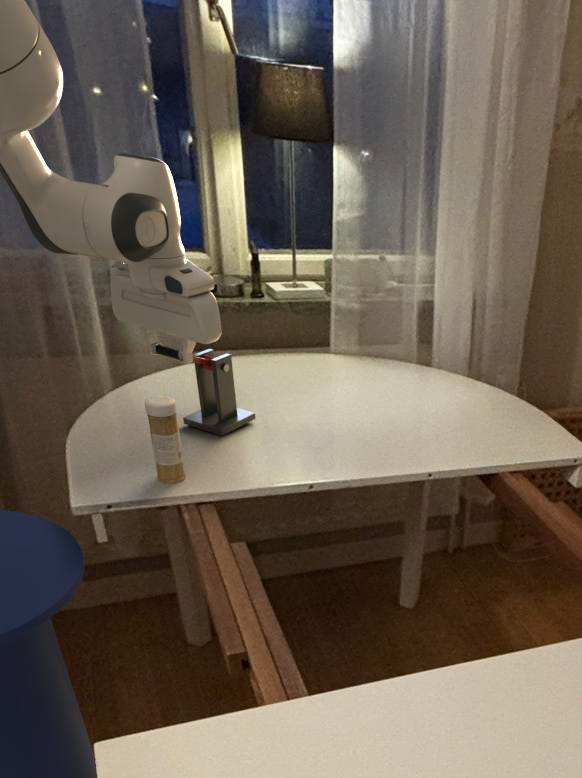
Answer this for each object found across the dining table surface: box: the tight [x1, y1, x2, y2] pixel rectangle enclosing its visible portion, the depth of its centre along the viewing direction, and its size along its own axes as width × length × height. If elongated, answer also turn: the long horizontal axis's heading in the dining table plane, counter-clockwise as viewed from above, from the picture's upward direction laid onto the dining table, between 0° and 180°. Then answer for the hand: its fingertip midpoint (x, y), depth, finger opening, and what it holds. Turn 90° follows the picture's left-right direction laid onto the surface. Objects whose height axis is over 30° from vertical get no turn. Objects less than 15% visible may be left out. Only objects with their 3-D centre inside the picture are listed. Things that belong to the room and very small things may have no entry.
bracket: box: [182, 348, 257, 436], centre depth 144 cm, size 10×9×13 cm
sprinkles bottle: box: [144, 395, 186, 485], centre depth 124 cm, size 5×5×14 cm
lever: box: [156, 344, 215, 371], centre depth 136 cm, size 13×5×2 cm, turn 155°
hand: (171, 358), depth 131 cm, fingers closed on lever, 5 cm apart
